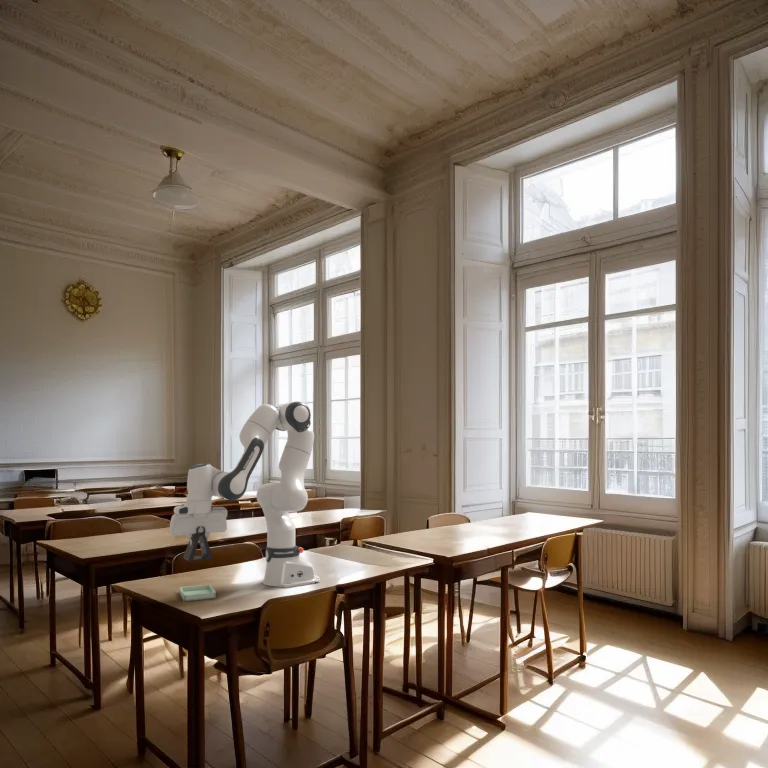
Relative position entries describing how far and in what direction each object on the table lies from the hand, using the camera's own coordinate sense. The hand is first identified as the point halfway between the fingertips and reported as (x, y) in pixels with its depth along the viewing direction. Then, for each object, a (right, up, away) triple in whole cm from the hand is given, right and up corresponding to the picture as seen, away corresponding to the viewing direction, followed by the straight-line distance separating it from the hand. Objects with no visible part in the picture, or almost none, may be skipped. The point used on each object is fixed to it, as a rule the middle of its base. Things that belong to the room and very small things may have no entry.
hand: (198, 545), depth 236 cm
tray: (0, -18, -1) cm, 18 cm away
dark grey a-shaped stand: (0, -5, 0) cm, 5 cm away
